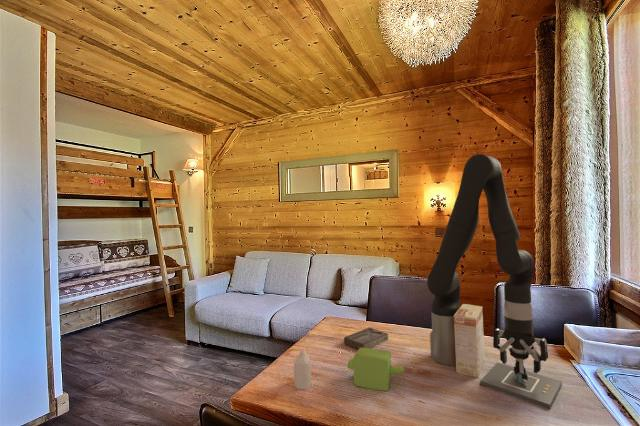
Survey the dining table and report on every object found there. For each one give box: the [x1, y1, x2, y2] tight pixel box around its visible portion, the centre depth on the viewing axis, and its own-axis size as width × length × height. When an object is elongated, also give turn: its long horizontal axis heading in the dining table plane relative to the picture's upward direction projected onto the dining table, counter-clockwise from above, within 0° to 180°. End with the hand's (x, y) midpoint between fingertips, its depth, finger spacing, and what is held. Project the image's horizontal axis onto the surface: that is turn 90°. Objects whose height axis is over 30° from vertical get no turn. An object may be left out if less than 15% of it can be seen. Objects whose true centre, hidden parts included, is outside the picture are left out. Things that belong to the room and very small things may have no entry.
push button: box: [508, 346, 530, 385], centre depth 98 cm, size 7×5×10 cm
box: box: [343, 327, 389, 351], centre depth 134 cm, size 11×17×3 cm, turn 133°
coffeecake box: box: [454, 303, 486, 379], centre depth 110 cm, size 15×7×20 cm, turn 144°
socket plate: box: [479, 362, 563, 410], centre depth 98 cm, size 18×16×1 cm
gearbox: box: [347, 348, 405, 392], centre depth 103 cm, size 18×10×10 cm, turn 70°
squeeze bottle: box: [293, 347, 312, 391], centre depth 103 cm, size 6×12×6 cm
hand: (520, 367), depth 98 cm, fingers open, 8 cm apart
